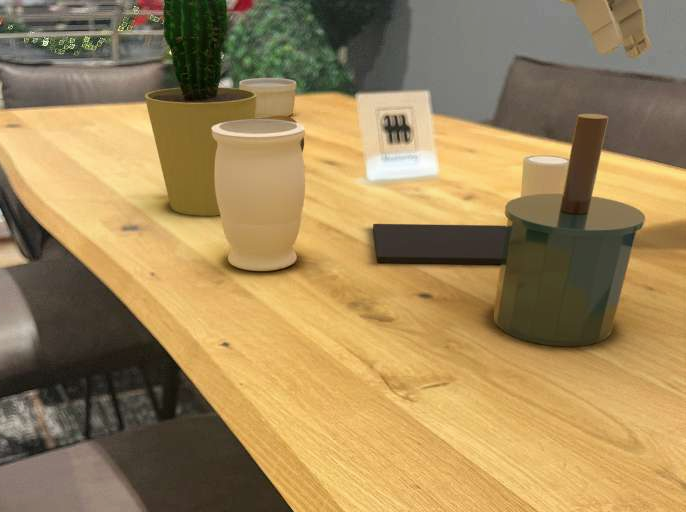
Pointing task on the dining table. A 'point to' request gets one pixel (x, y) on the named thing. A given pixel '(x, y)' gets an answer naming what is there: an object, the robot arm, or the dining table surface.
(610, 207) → the jar lid
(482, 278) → the dining table surface
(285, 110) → the ramekin
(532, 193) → the beige cylinder
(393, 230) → the mat
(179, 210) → the potted cactus
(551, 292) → the storage jar
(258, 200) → the jar
